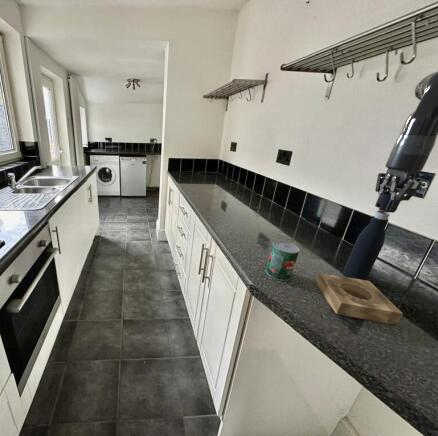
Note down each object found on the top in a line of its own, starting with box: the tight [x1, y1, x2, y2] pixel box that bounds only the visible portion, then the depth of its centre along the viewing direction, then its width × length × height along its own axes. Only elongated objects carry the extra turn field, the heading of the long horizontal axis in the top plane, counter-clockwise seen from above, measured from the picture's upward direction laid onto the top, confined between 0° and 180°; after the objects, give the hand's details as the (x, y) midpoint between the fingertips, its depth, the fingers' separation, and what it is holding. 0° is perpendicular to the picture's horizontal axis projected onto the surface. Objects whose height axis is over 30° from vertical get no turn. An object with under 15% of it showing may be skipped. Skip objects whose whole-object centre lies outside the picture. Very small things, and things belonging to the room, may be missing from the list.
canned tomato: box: [265, 240, 301, 282], centre depth 79 cm, size 8×8×11 cm
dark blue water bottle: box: [342, 193, 398, 281], centre depth 75 cm, size 6×6×30 cm
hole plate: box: [315, 273, 404, 326], centre depth 68 cm, size 14×14×4 cm
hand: (384, 209), depth 71 cm, fingers closed on dark blue water bottle, 4 cm apart
